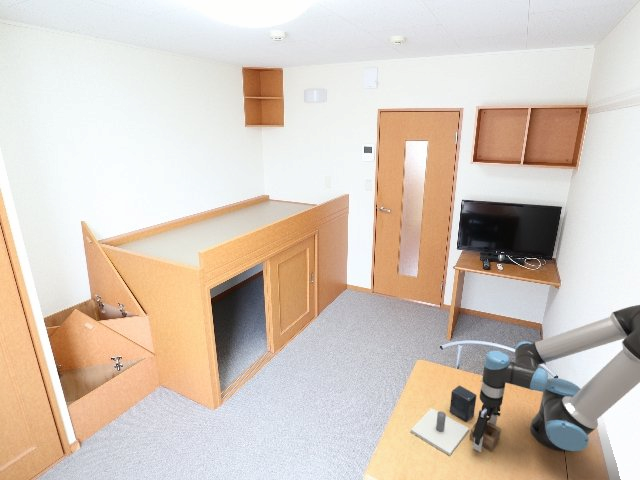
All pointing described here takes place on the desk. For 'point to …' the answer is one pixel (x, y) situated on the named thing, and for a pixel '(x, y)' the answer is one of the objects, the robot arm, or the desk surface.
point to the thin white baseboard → (440, 431)
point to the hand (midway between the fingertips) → (484, 438)
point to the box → (462, 403)
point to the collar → (488, 436)
